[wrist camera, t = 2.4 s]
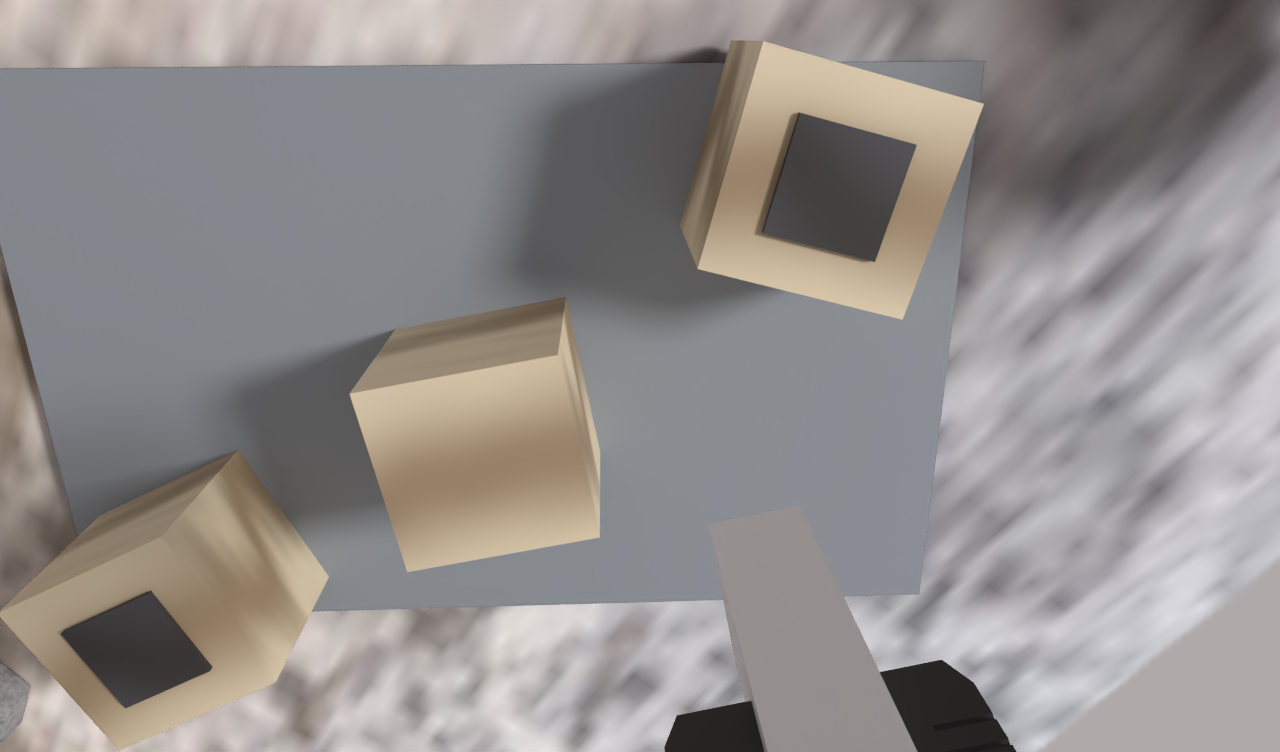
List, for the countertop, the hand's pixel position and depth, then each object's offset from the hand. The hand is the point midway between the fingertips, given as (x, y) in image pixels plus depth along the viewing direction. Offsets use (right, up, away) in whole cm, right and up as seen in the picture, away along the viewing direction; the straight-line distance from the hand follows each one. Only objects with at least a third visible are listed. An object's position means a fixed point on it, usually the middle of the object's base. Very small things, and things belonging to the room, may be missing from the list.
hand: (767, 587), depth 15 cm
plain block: (-7, +3, +17) cm, 19 cm away
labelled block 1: (-18, -3, +19) cm, 26 cm away
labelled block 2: (+3, +11, +15) cm, 18 cm away
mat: (-7, +4, +17) cm, 19 cm away
